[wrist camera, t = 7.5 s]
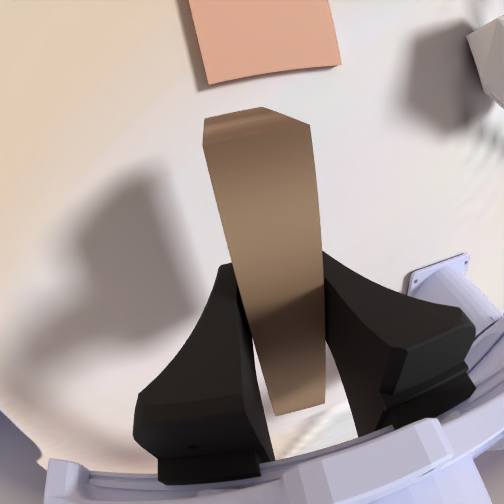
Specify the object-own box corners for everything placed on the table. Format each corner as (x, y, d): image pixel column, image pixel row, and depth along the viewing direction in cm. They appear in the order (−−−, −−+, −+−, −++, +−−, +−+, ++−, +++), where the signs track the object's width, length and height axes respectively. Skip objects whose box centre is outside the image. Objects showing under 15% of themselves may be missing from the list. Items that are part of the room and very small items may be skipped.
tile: (341, 65, 15) (315, -45, 11) (208, 84, 15) (181, -32, 10) (334, 65, 16) (309, -39, 12) (208, 85, 16) (182, -25, 11)
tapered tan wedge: (295, 319, 18) (325, 403, 13) (255, 329, 18) (274, 416, 13) (263, 106, 11) (310, 124, 6) (204, 118, 11) (201, 145, 6)
